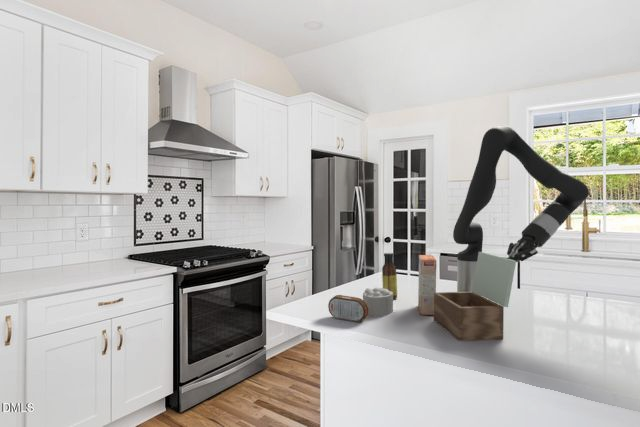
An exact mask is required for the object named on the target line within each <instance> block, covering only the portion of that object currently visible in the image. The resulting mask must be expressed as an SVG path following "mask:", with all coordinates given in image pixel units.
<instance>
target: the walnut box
mask: <svg viewBox="0 0 640 427" xmlns="http://www.w3.org/2000/svg"><path fill="white" fill-rule="evenodd" d="M504 308H505V307H504V306H502V305H500V304H497V303H495V302H493V301H491V300H489V299H487V298H485V297H483V296H480V295H478V294H476V293H474V292H457V291H448V292H446V291H445V292H436V293H434V315H433V321H434V322H435V323H436V324H438V326H441V328H443V329H444V330H446V332H448V333H449V334H450V335H452V336H453V338H455V339H456V340H458V342H459V341H460V342H462V341H464V342H465V341H466V342H467V341H484V340H485V341H486V340H487V341H489V340H490V341H493V340H504V315H505V314H504V313H505V312H504Z"/></svg>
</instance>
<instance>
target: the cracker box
mask: <svg viewBox="0 0 640 427" xmlns="http://www.w3.org/2000/svg"><path fill="white" fill-rule="evenodd" d="M434 293H437V260H436V258H435V257H434V255H433V254H432V255H431V254H418V298H417V299H418V300H417V301H418V302H417V305H418V309H419V310H418V311H419V314H420V315H422V316H434Z"/></svg>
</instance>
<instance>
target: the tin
mask: <svg viewBox="0 0 640 427" xmlns="http://www.w3.org/2000/svg"><path fill="white" fill-rule="evenodd" d="M327 307H328V308H327V309H328V311H329V314H330V315H331V316H332V317H333V318H335V319H337V320H341V321H342V320H343V321H349V322H354V323H360V322H362V321H364V320H365V319H366V318H367V317H368V316H367V315H368V307H367V304H366V303H365V302H364V301H363V298H359V297H356V296H348V295H342V294H337V295H334V296H333V297H331V298H330V300H329V301H328V305H327Z"/></svg>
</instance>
